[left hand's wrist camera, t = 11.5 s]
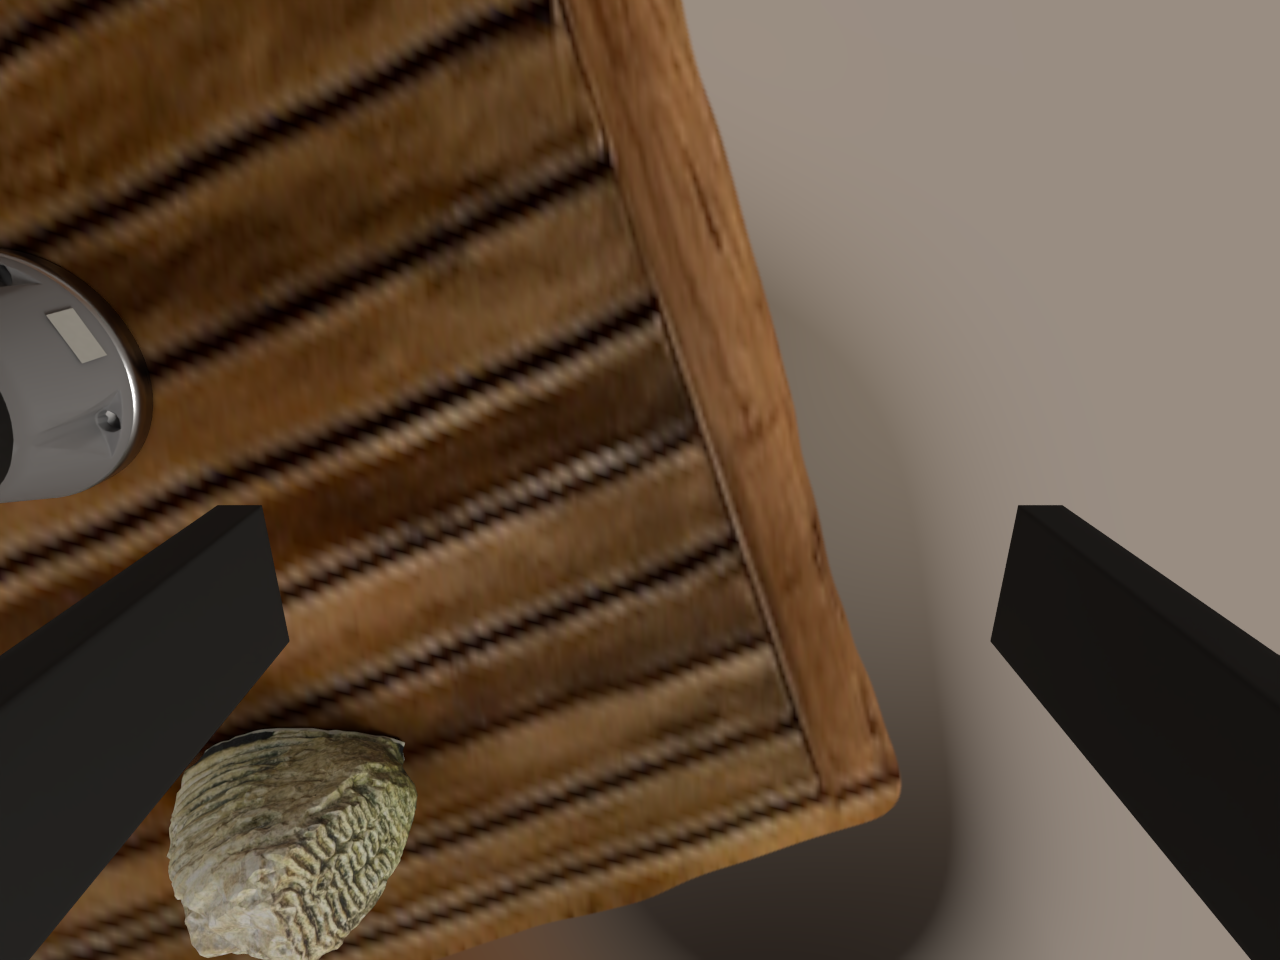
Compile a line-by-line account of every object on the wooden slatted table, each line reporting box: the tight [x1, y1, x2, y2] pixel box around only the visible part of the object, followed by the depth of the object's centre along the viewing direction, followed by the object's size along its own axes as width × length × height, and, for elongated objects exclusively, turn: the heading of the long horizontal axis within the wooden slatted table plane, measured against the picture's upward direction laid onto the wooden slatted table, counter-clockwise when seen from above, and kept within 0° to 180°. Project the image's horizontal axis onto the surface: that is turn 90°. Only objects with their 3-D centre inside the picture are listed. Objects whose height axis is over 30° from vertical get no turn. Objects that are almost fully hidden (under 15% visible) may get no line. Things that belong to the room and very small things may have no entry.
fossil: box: [167, 728, 417, 960], centre depth 48 cm, size 9×18×15 cm, turn 105°
